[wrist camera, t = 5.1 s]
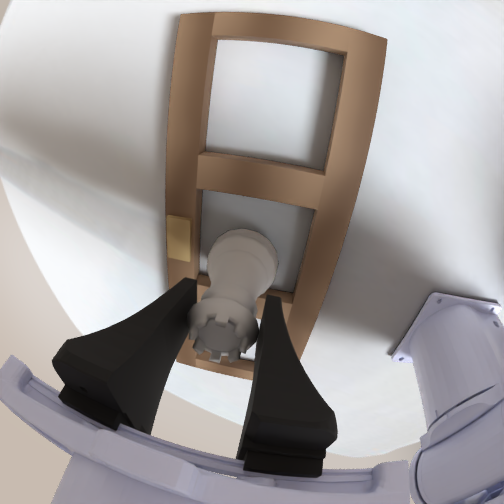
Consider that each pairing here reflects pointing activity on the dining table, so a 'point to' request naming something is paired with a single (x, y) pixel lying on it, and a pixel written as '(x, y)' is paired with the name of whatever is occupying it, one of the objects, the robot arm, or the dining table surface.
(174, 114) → the brown wooden flat frame
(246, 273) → the rook chess piece
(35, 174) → the dining table surface
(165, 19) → the dining table surface
